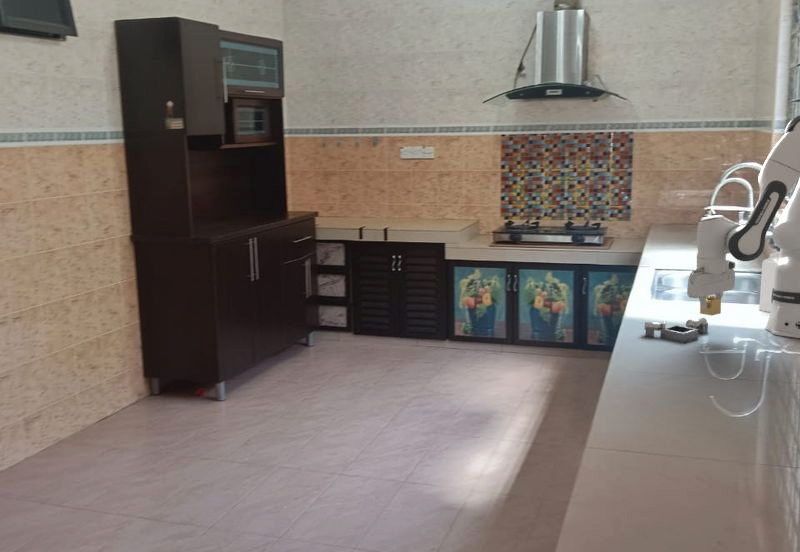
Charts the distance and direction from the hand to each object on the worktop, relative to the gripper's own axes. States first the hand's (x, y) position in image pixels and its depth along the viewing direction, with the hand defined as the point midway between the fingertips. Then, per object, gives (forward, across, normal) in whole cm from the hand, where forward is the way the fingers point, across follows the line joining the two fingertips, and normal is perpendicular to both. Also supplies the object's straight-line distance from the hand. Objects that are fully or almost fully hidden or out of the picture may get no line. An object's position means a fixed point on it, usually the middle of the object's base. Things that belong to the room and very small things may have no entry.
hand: (710, 307), depth 264 cm
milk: (+12, +52, +11) cm, 55 cm away
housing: (+10, -8, +6) cm, 14 cm away
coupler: (+2, 0, 0) cm, 2 cm away
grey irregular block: (+10, +3, +8) cm, 13 cm away
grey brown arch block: (+10, -12, +13) cm, 20 cm away
